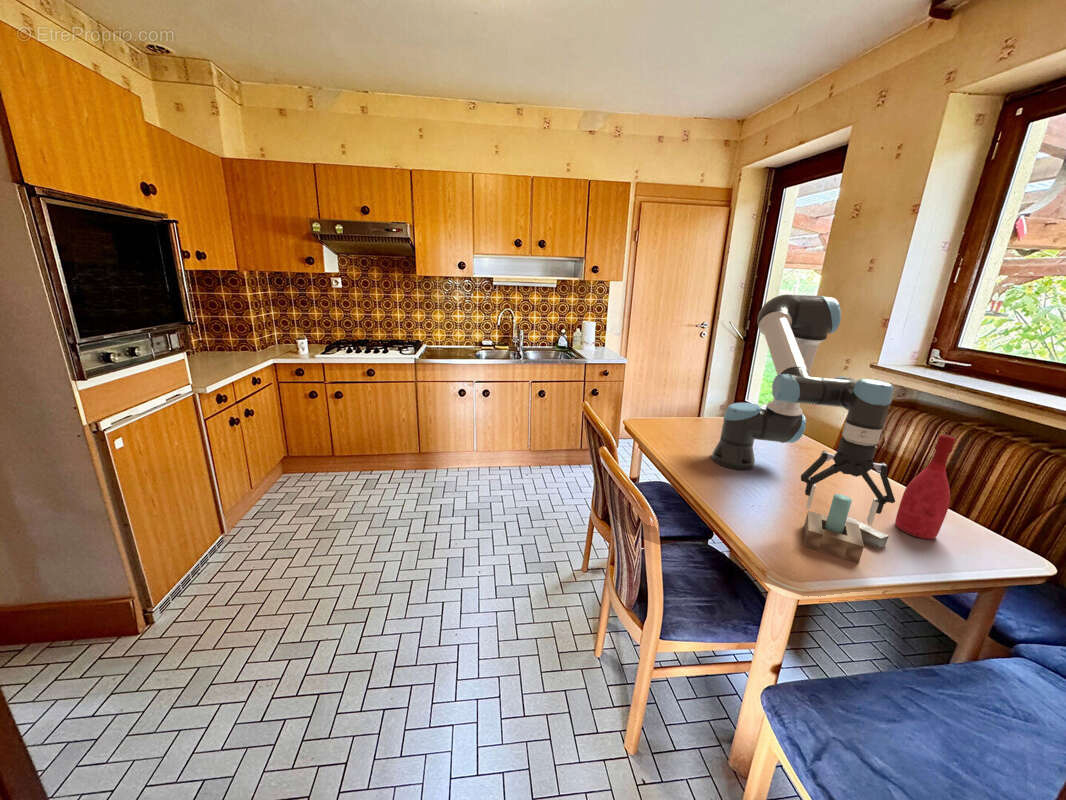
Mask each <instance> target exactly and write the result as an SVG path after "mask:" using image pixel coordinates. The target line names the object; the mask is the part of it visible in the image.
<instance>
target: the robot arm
mask: <svg viewBox="0 0 1066 800" xmlns="http://www.w3.org/2000/svg"><path fill="white" fill-rule="evenodd" d="M841 316H842V310H841V306H840V303H839V301H838V300H837V299H836V298H834V297H829V296H825V295H824V296H823V295H807V294H806V295H805V294H803V295H802V294H801V295H800V294H780V295H777V296H775V297H773V298H771V299H770V300H768V301H767V302H766V303H765V304H764V305H763V306H762V308H761V309H760V310H759V312H758V315H757V320H756V321H757V328H758V330H759V332H760V333H761V335H763V336H764V338H765V341H766V345H767V347H768V351H769V352H770V356H771V359H772V362H773V366H774V368H775V372H776V376H775V377H774V379H773V382H772V384H771V388H772V390H771V395H772V397H773V400H772V401H770V402H767V405H766V408H765V409H762V408H761V406H760V405H758V404H756V403H750V402H734V403H731V404H729V405H728V406H727V407H726V409H725V412H724V415H723V423H722V427H721V433H720V437H719V438H720V439H719V441H718V443H717V444H716V446H715V448H714V449H713V452H712V456H711V460H713V462H714V463H716V464H718V465H720V466H722V467H725V468H728V469H733V470H738V471H739V470H741V471H748V470H752V469H753V468H754V467H755V463H756V458H755V454H754V443H755V442H754V441H755V440H759V441H765V442H766V441H767V442H775V443H782V444H785V443H789V444H793V443H797V442H798V441H799V440H800V439H801V438H802V437H803V435H804V433H805V430H806V426H807V425H806V424H807V419H806V416H805V415H804V413H803V409H802V408H801V404H807V405H817V406H824V407H825V406H826V407H827V406H828V407H835V408H836V407H837V408H838V407H839V408H843V409H845V410H847V414H846V418H845V422H844V425H843V429H842V433H841V435H842V437H841V438H840V441H839V444H838V447H837V451H836V452H835V454H833V453H829V452H828V451H827V450H822V451H821V453H820V456H819V457H818V458H817V460H815V461H814V462H813V463H812V464H811V465H810V466H809V467H808V468H807V469H806V470H805V471H804V472H803V473H802V474H801V475H800V481H801V482H803V483H805V484H806V487H805V489H804V490H805V491H804V494H805V496H808V498H807V502H806V509H809V510H810V509H811V507H812V502H813V499H814V495H815V490H816V488H817V487H816V484H817V483H819V482H821V481H823V480H825V479H827V478H829V477H830V476H833V475H836V474H837V473H839V472H841V473H842V474H843V475H851V476H853V477H862V479H863V480H864V481H865V482H866V484H867V486H868V487H869V488H870V490H871V491H872V493H873V494H874V496H875V497H873V499H872V503H871V505H870V509H869V511H868V516H867V519H866V521H867V524H868V526H873V523H874V520H875V516H876V514H879V515H880V514H882V512H883V508H884V505H886V504H887V503H891V504H894V503H896V499H895V496H894V492H893V489H892V487H891V483H890V481H889V478H888V475H887V473H888V466H887V464H886V463H885V462H880V463H879V462H878V463H877V462H874V458H875V454H876V452H877V449H878V446H877V444H878V443H879V442H880V438H881V434H882V431H883V427H884V425H885V422H886V418H887V415H888V412H889V409H890V406H891V404H892V401H893V394H894V390H895V389H894V388H895V387H894V386H893V384H891V383H890V382H886V381H882V380H878V379H873V378H870V379H869V378H861V379H858V380H857V379H854V378H851V377H846V376H837V377H835V378H831V377H819V376H811V375H810V374H811V371H812V368H813V365H814V362H815V358H816V356H817V355H816V354H817V352H818V348H819V345H820V344H821V343H823V342H824V341H826V340H827V338H828V335H830V334H834V333H835V332H837V330H838V328H839V326H840V324H841V319H842V317H841ZM830 460H833V462H834V464H832V465H830V466H829V467H828V468H825V469H824V470H822V471H820V472H818V473H817V474H815V473H816V472H817V471H818V470H819V469H820V468H821V467H822V466H823V465H824V464H825V463H826V462H830ZM873 469H875V470H876V471H875V472H877V473H879V476H880V480H881V482H882V484H883V487H884V488H883V489H884V490H885V494H886V495H883V494H882V491H881V490H880V488H879V487H878V486H877V485H876V483H875V481H874V480H873V478H872V477H871V476H870V474H869V473H868V472H870V471H871V470H873ZM813 474H814V475H813Z"/></svg>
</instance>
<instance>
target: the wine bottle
mask: <svg viewBox="0 0 1066 800" xmlns="http://www.w3.org/2000/svg"><path fill="white" fill-rule="evenodd" d="M955 441H956V438H955V437H954V436H952V435H949V434H940V435H938V438H937V441H936V443H935V445H934V450H935V452H934V455H933V457H932V458H931V460H930V462H929V464H928V465H927V466H926V467H925V468H924V469H923V470H922V471H920V472H919V473H918V474H917V475H916V476H914V478H913V479H912V480H911V481H910V482H909V483H908V485H907V486H906V487H905V488H904V491H903V493H902V497H901V500H900V503H899V507H898V510H897V512H896V515H895V521H894V523H895V525H896V527H897V528H898V529H899V530H901V531H902V532H904V533H906V534H907V535H910V536H912V537H913V536H914V537H916V538H920V539H924V540H925V539H927V540H931V539H935V538H936V537H938V535H939V533H940V530H941V528H942V525H943V524H944V521H945V518H946V517H947V516H946V515H947V514H948V510H949V508H950V504H951V490H950V489H951V488H950V484H949V480H948V477H947V471H946V470H947V469H946V467H947V461H948V458H949V454H950V453H952V452H953V447H954V443H955Z"/></svg>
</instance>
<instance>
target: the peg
mask: <svg viewBox="0 0 1066 800" xmlns="http://www.w3.org/2000/svg"><path fill="white" fill-rule="evenodd" d="M852 501H853V499H851V497H848V496H847V495H844V494H840V493H836V494H833V497H832V500H831V504H830V507H829V512H828V514H827V516H828V518H827V521H826V525H825V530H828V531H832V532H836V533H839V534H842V533H843V530H844V526H845V523H846V519H847V518H848V517H849V516H848V515H849V512H850V508H851V505H852Z"/></svg>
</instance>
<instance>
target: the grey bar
mask: <svg viewBox="0 0 1066 800" xmlns="http://www.w3.org/2000/svg"><path fill="white" fill-rule="evenodd" d="M846 521H848V522H851V523H855V524H859V527H860V531H861V536H862V540H863V543H865V544H867V545H868V546H870V547H872V548H873V549H876V550H879V549H883V548H885V547H886V545H887V543H888V539H889V537H890V535H888V534H886V533H885V532H882V531H879V530H877V529H875V527H871V525H867V524H865V523H863V522H861V521H859V520H857V519H855V518H854V517H850V516H847V519H846Z"/></svg>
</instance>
